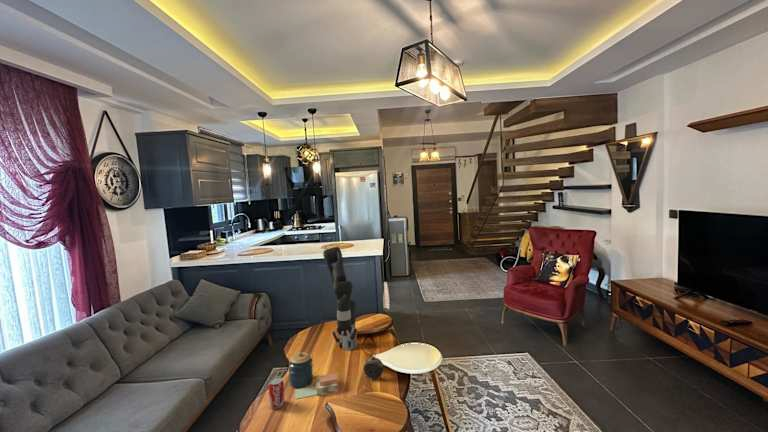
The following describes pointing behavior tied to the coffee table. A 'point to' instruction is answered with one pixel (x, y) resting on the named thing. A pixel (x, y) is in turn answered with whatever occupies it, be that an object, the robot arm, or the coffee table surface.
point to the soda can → (276, 392)
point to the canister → (300, 370)
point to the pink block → (328, 379)
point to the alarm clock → (373, 367)
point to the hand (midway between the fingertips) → (345, 347)
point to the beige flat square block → (325, 388)
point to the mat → (305, 392)
